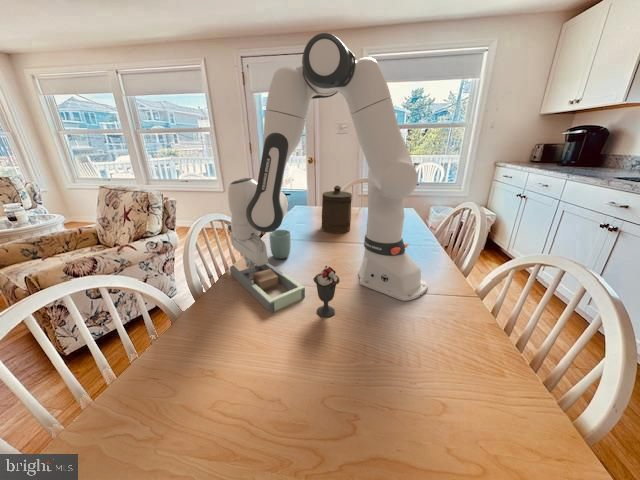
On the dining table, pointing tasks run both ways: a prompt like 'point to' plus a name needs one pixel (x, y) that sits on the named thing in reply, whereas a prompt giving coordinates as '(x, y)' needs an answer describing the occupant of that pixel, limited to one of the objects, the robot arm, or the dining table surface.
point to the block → (266, 280)
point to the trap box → (269, 303)
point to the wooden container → (336, 211)
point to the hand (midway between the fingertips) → (250, 267)
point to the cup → (280, 243)
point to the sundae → (326, 290)
